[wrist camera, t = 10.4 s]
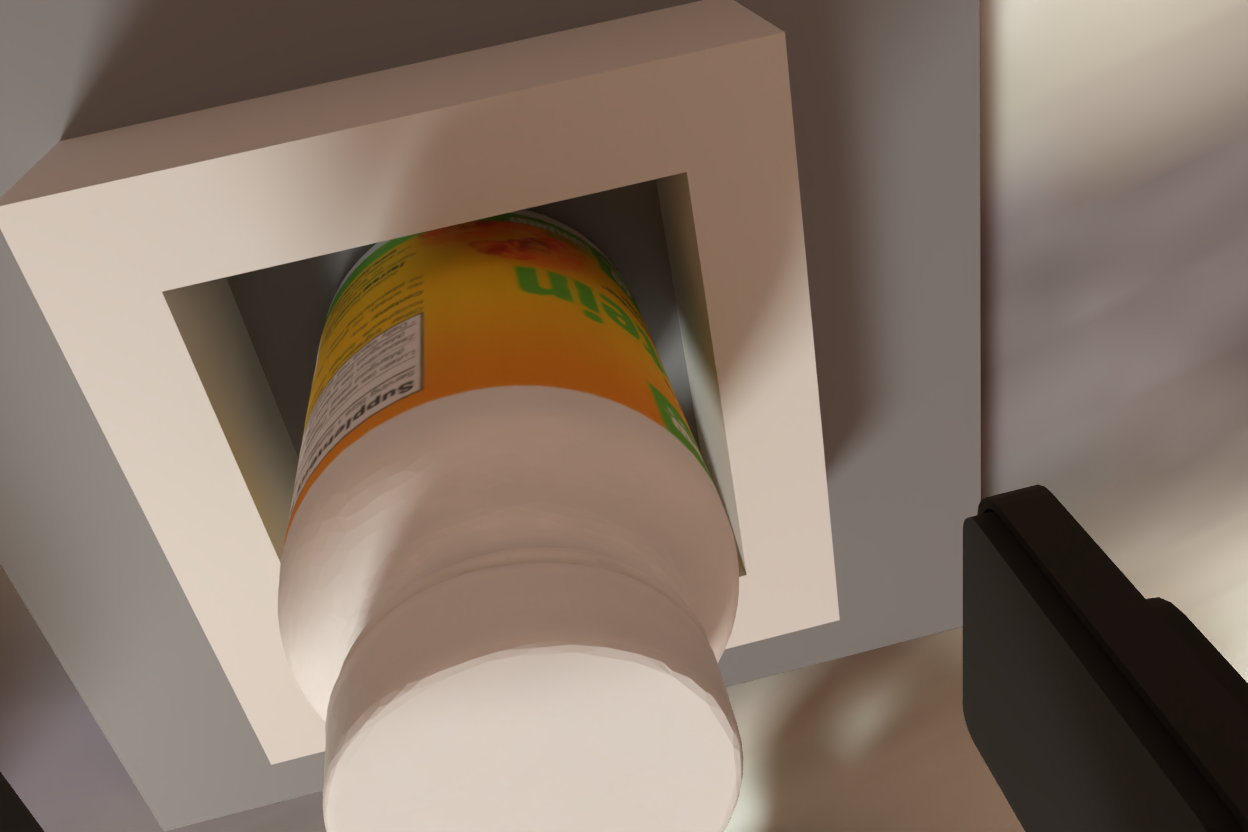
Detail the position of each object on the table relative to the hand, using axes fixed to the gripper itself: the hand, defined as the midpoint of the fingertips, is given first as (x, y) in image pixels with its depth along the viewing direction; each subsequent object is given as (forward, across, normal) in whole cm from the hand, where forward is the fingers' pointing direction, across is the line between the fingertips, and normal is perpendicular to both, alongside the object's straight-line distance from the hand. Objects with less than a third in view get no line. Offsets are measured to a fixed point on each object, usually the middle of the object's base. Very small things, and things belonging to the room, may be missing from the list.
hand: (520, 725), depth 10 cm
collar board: (+10, 0, +1) cm, 10 cm away
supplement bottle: (+9, 0, +1) cm, 9 cm away
